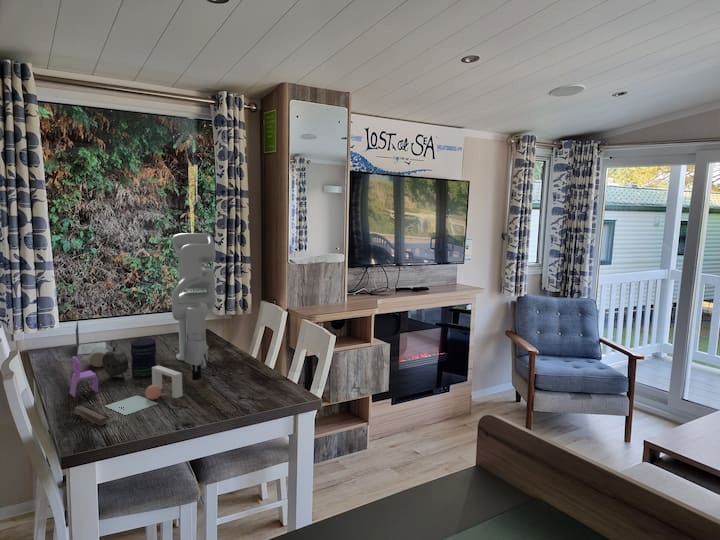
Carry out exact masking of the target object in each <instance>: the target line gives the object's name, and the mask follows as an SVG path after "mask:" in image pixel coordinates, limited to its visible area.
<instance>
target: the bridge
mask: <svg viewBox="0 0 720 540" xmlns="http://www.w3.org/2000/svg"><path fill="white" fill-rule="evenodd" d="M163 375H164V376H167V377H171V391H172V392H171V393H172V395H171V397H172V398H173V399H178V398H181V397H183V373H182V372H180V371H176V370H173V369H170V368H168V367H164V366H161V365H158V364H157V365H156V366H155V367H152V378H151V383H152V384H151V385H158V386H159V387H160V389H161V390H162V389H163Z"/></svg>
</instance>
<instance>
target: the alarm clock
mask: <svg viewBox="0 0 720 540" xmlns="http://www.w3.org/2000/svg"><path fill="white" fill-rule="evenodd" d="M112 342H114V343H115V346H113V345H112ZM117 346H118V343H117V341H116V340H111V341H110V347H111V348H112V350H108V352H106V353H105V354H104V355H103V358H102V365H103V366H102V368H103V370H104V371H105V373H106V374H107V375H109V380H112V377H114V378H116V377H118V376H121V377H122V379H123V380H125V379H126V378H125V376H124V374H125V373H126V372H127V371H128V369H129V361H128V358H127V355H126V354H125V352H123V351H122V350H121V349H119V348H117Z"/></svg>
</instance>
